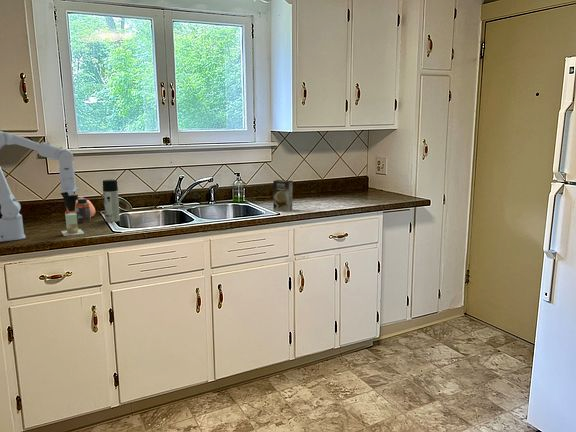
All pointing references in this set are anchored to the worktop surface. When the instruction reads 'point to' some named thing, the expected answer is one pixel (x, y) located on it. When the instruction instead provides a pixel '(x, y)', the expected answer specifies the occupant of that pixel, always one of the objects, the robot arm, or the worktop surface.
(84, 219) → the supplement bottle
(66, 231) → the baseplate
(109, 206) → the spray can
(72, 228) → the beech brick
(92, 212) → the sugar bowl
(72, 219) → the sage brick
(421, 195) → the worktop surface
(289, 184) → the coffee box
